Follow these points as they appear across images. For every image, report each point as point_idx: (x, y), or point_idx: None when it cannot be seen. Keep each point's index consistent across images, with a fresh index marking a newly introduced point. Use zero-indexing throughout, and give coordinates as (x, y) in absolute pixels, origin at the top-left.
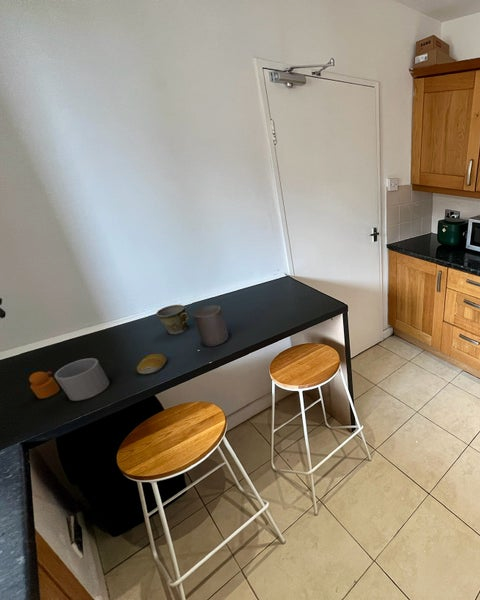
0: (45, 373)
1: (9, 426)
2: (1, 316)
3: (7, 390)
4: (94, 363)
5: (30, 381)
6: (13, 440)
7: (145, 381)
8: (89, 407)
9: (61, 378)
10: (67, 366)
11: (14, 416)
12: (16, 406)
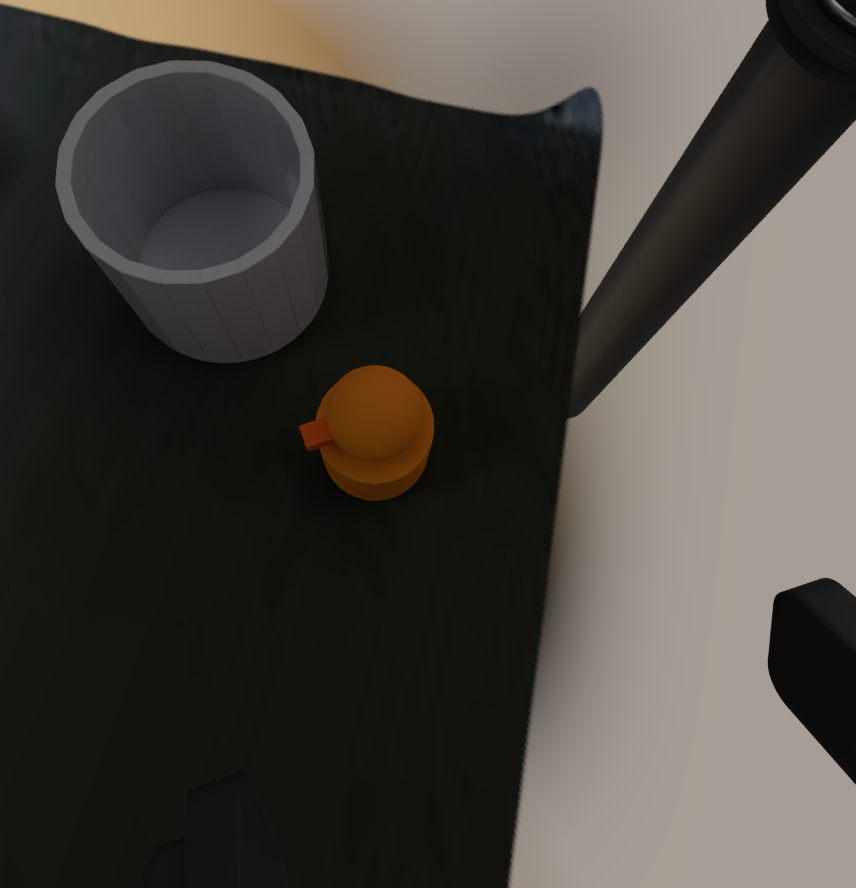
0: (331, 394)
1: (573, 290)
2: (261, 821)
3: (523, 735)
4: (89, 217)
5: (420, 399)
6: (577, 159)
7: (28, 74)
8: (296, 107)
9: (295, 120)
10: (212, 270)
11: (544, 363)
12: (521, 462)
